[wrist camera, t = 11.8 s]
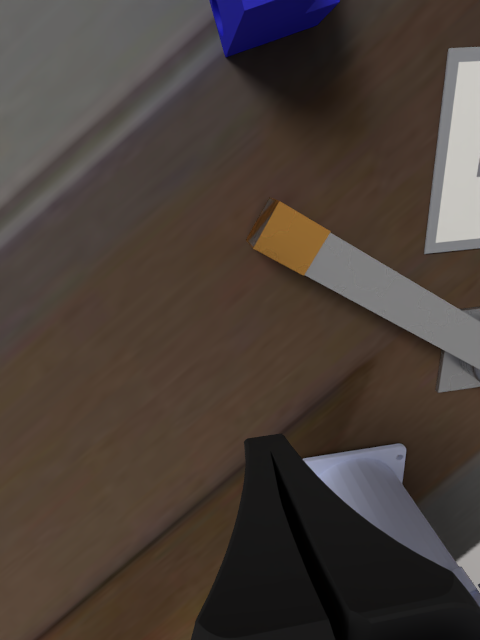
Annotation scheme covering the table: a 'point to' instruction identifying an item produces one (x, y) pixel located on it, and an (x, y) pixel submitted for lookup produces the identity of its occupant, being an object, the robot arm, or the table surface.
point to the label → (457, 158)
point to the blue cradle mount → (264, 20)
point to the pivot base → (455, 367)
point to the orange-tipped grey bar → (365, 281)
